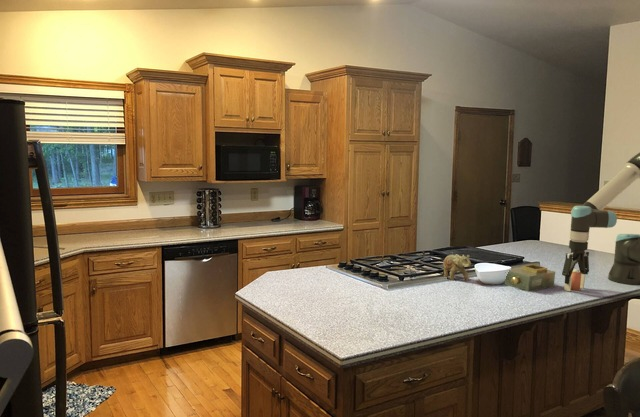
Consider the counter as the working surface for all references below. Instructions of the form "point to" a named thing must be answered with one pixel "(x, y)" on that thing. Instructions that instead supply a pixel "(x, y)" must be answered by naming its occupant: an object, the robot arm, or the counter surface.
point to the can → (576, 280)
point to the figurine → (456, 265)
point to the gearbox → (530, 278)
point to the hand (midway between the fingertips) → (574, 289)
